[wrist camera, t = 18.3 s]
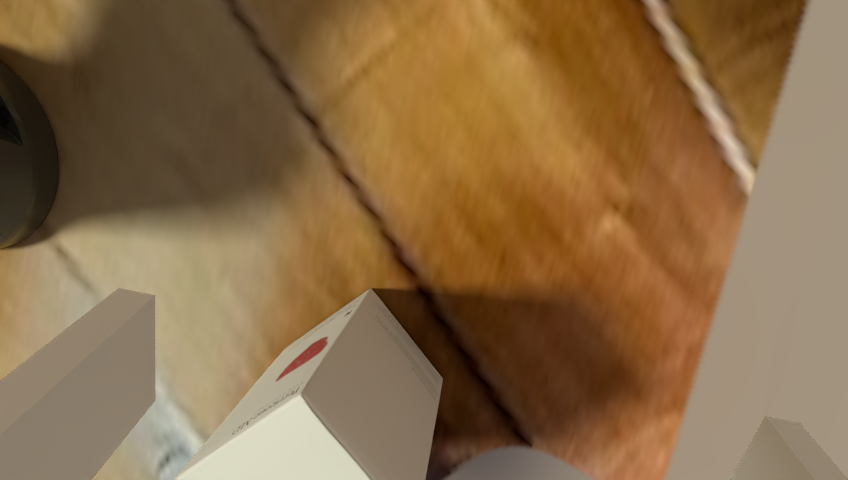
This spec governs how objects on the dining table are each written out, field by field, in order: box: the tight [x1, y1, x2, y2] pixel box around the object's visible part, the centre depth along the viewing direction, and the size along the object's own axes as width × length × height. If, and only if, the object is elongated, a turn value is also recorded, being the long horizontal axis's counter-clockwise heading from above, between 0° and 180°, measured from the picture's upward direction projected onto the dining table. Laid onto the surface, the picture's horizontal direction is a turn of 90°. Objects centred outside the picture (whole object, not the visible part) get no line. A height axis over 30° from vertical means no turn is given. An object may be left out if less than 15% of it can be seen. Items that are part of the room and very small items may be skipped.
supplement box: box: [174, 289, 443, 480], centre depth 32 cm, size 9×9×15 cm
